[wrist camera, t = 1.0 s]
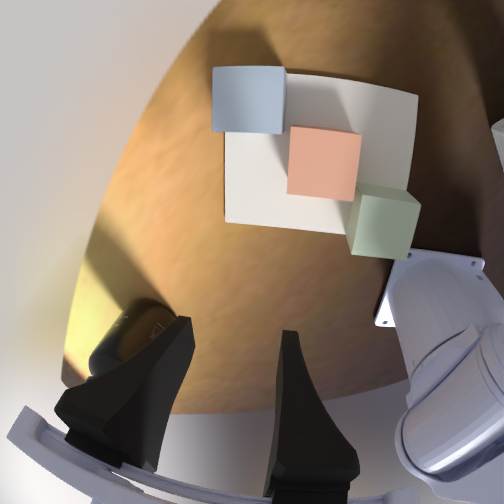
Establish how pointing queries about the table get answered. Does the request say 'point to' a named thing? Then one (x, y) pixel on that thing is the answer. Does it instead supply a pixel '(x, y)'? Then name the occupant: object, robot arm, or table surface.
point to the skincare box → (499, 139)
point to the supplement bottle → (128, 335)
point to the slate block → (249, 99)
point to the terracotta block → (323, 162)
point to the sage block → (382, 222)
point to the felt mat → (329, 116)
